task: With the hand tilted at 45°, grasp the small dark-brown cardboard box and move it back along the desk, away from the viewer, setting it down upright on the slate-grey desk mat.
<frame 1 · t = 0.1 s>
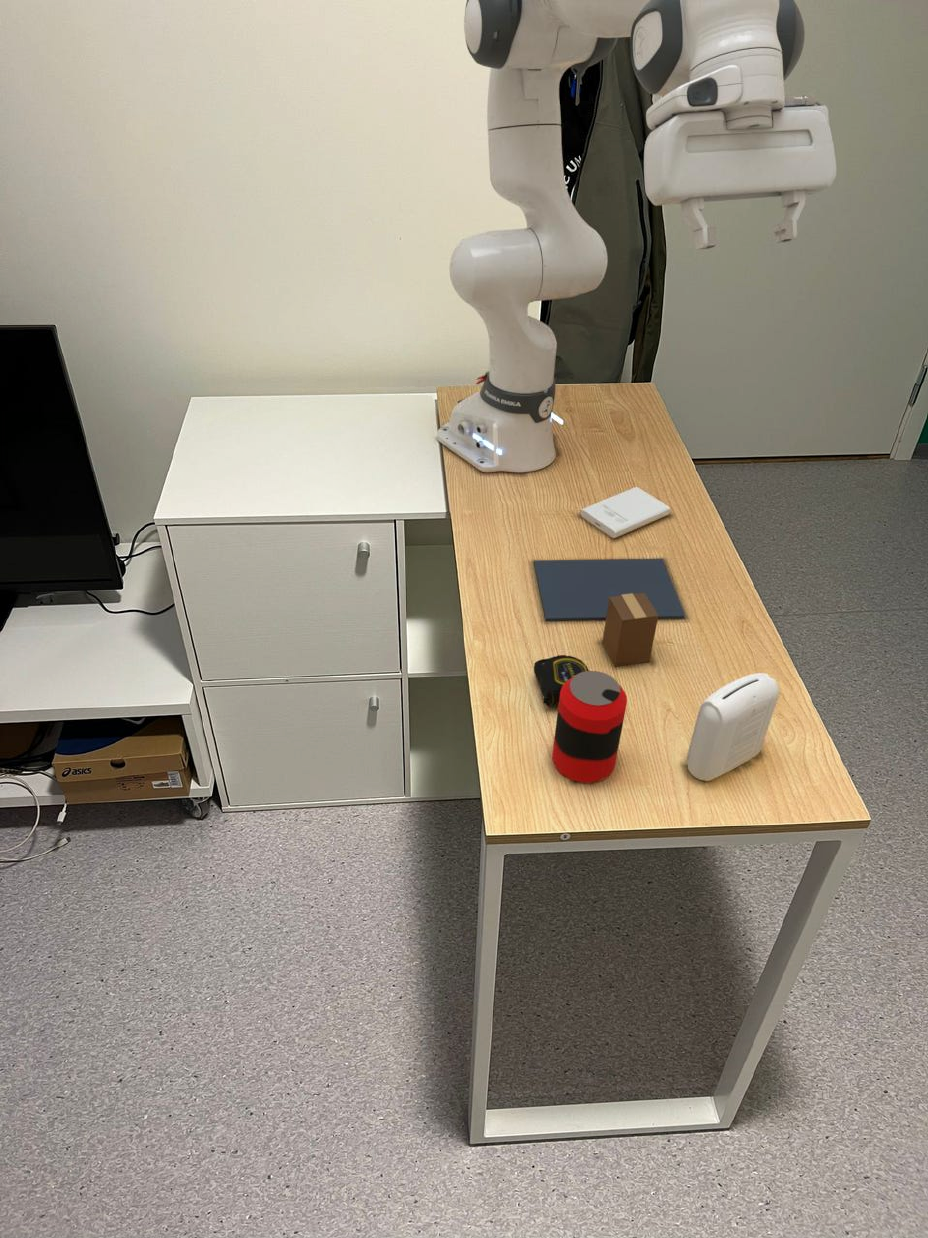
hand: (746, 244, 98), 54 cm above the table, tool tilted 30°, fingers open, 8 cm apart
tape measure: (557, 694, 125), on the table
desk mat: (606, 589, 142), on the table
hard drive: (624, 516, 158), on the table
box: (625, 652, 131), on the table
photo printer: (722, 760, 116), on the table
soda can: (583, 761, 116), on the table
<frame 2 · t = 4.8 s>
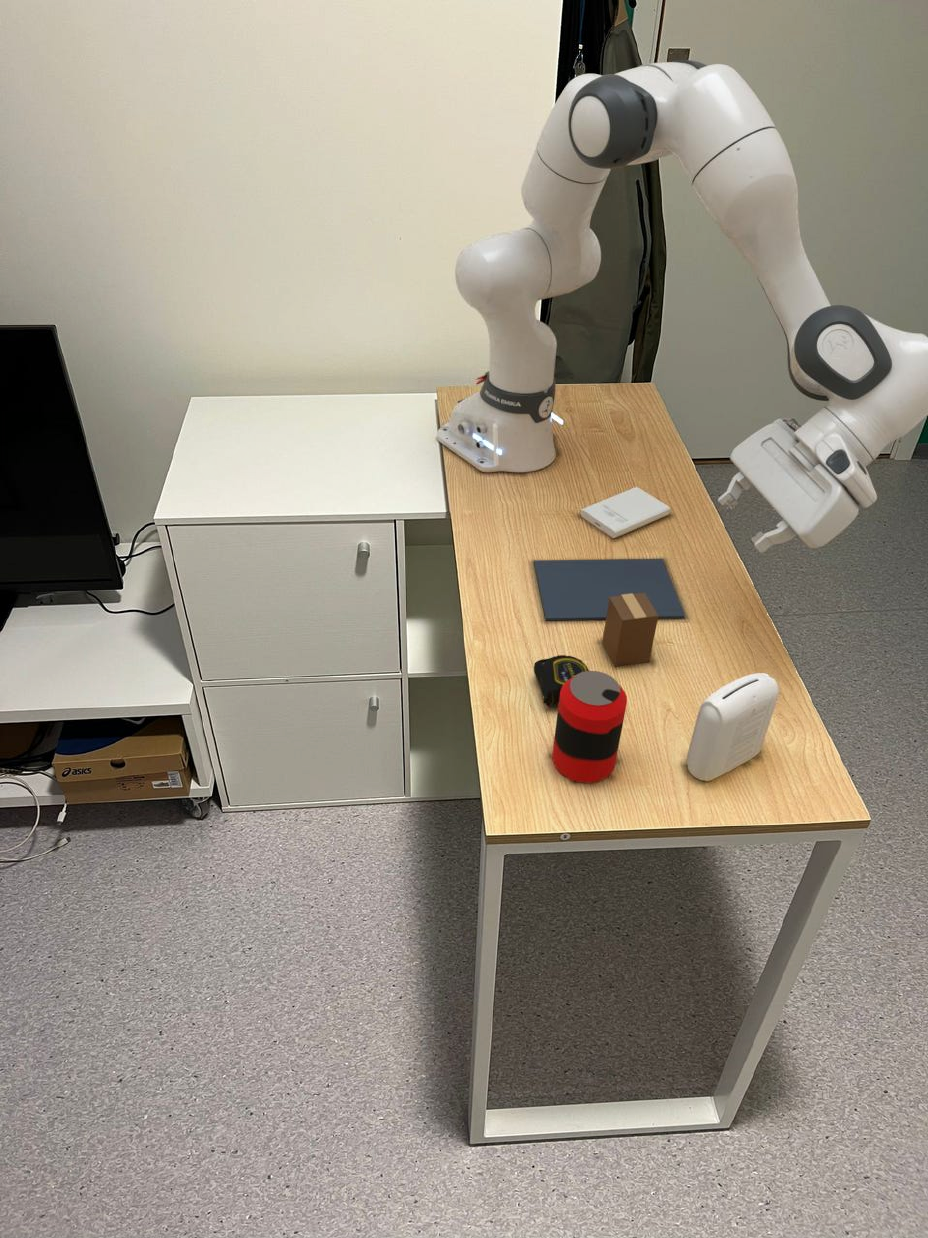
hand: (738, 526, 122), 19 cm above the table, tool tilted 45°, fingers open, 8 cm apart
nothing on the table moved.
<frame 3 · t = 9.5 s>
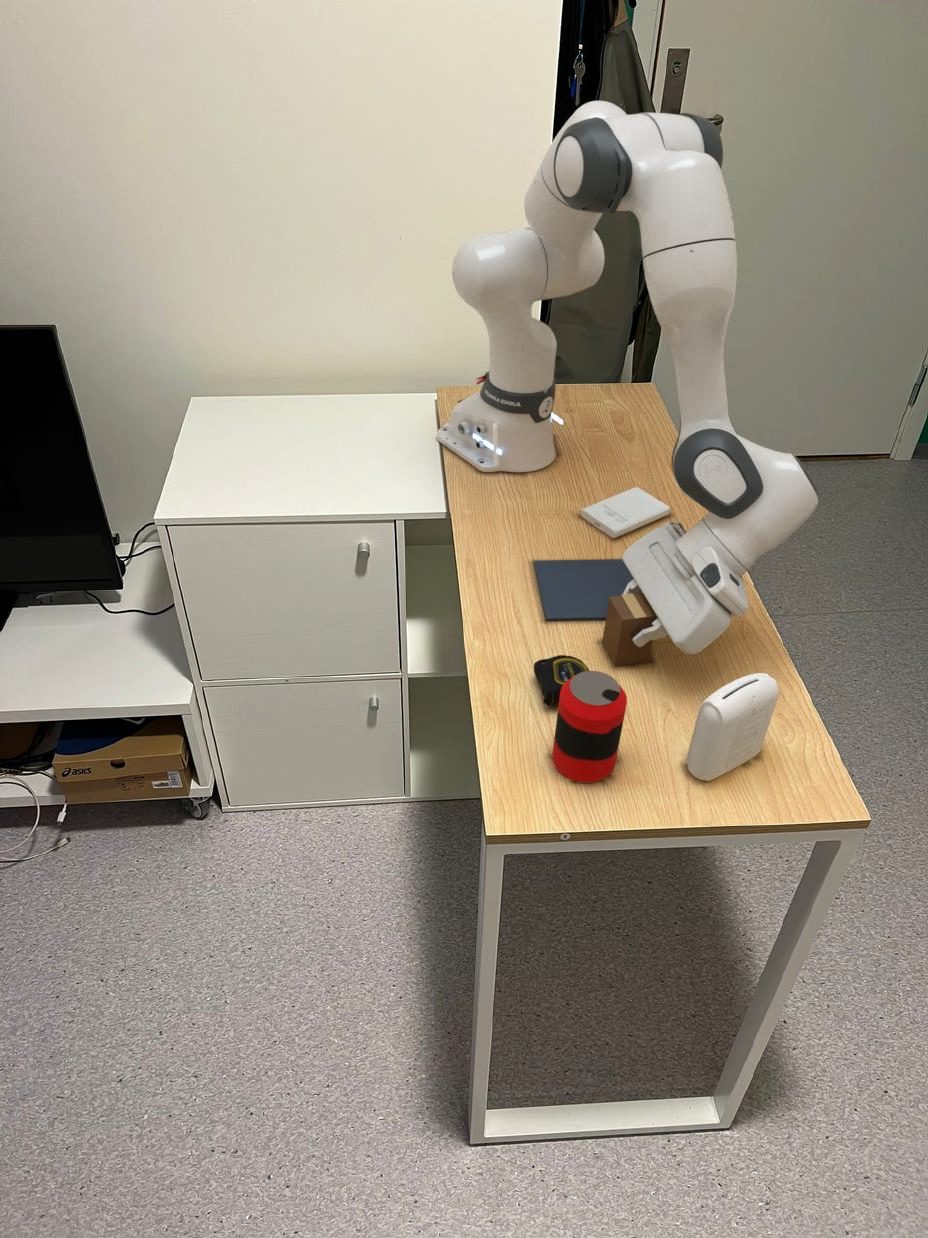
hand: (625, 626, 128), 5 cm above the table, tool tilted 45°, fingers closed on box, 5 cm apart
box: (625, 652, 131), on the table, touching gripper
everything else where it was.
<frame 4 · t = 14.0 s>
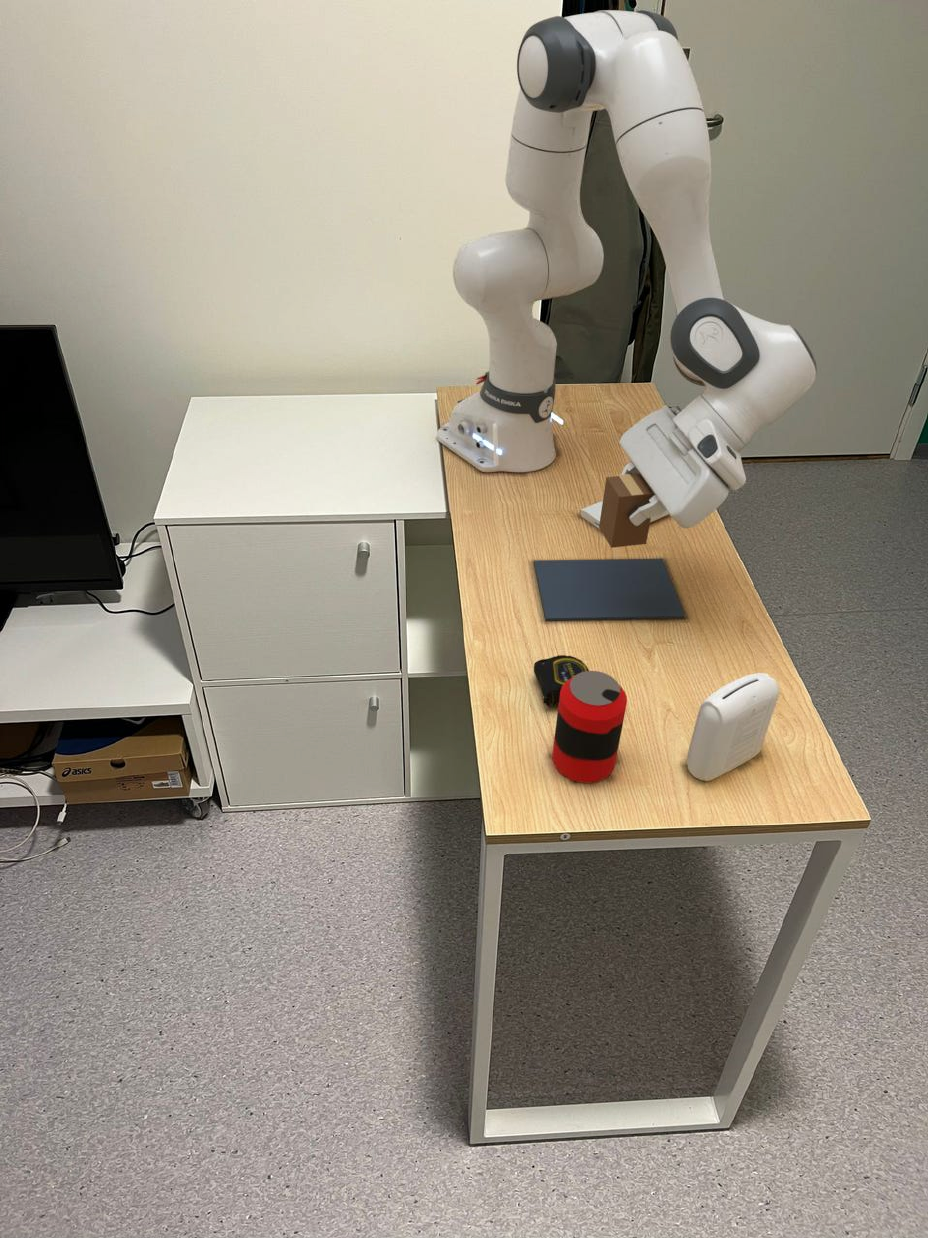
hand: (622, 507, 128), 17 cm above the table, tool tilted 45°, fingers closed on box, 5 cm apart
box: (622, 535, 131), point 12 cm above the table, touching gripper
everything else where it was.
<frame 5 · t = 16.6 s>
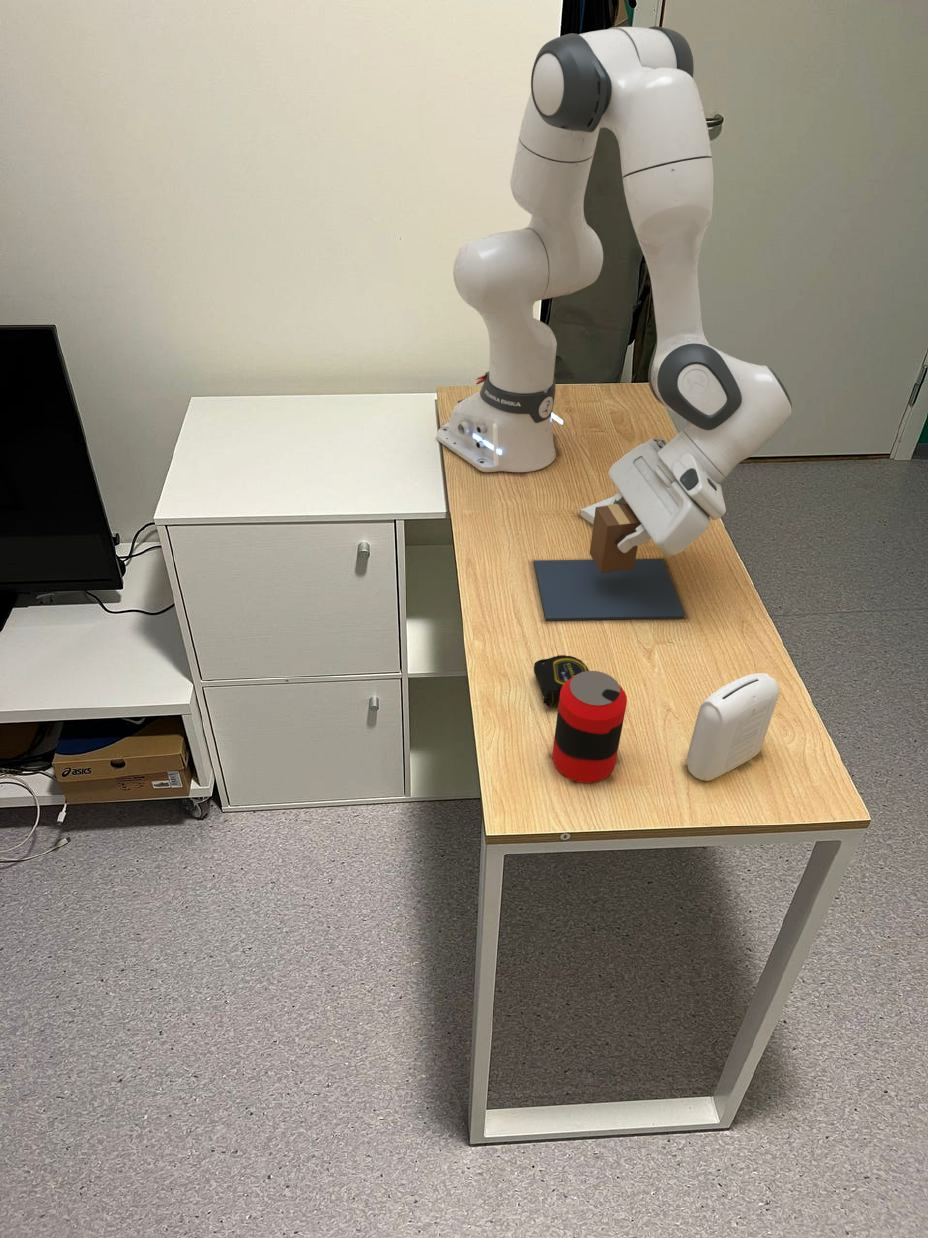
hand: (611, 535, 136), 10 cm above the table, tool tilted 45°, fingers closed on box, 5 cm apart
box: (611, 561, 139), point 5 cm above the table, touching gripper
everything else where it was.
when the fingers open (5 cm above the table, at t = 18.4 s): box stays where it is, resting on desk mat.
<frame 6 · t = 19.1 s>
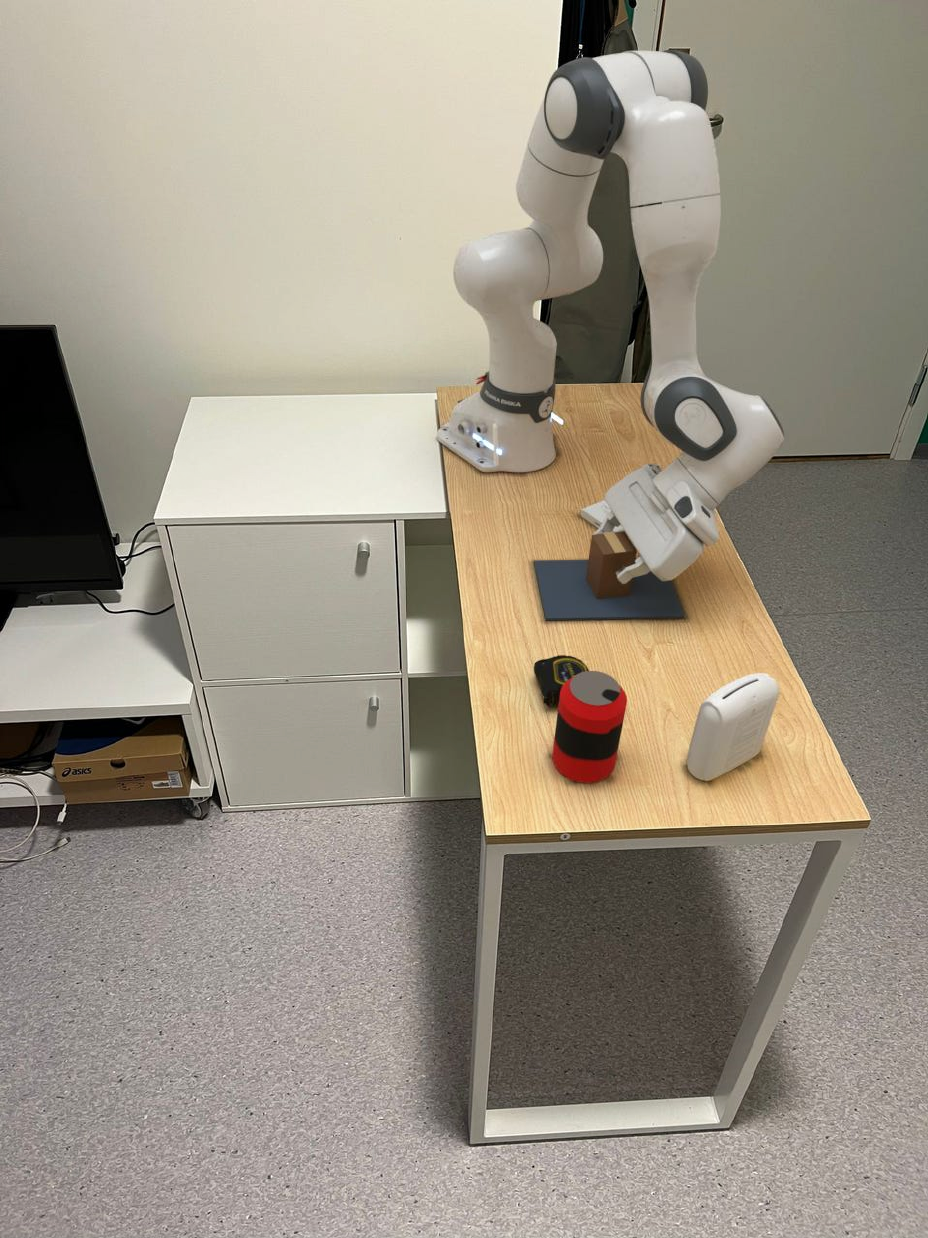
hand: (607, 559, 139), 6 cm above the table, tool tilted 45°, fingers open, 8 cm apart
box: (607, 587, 142), resting on desk mat
everything else where it was.
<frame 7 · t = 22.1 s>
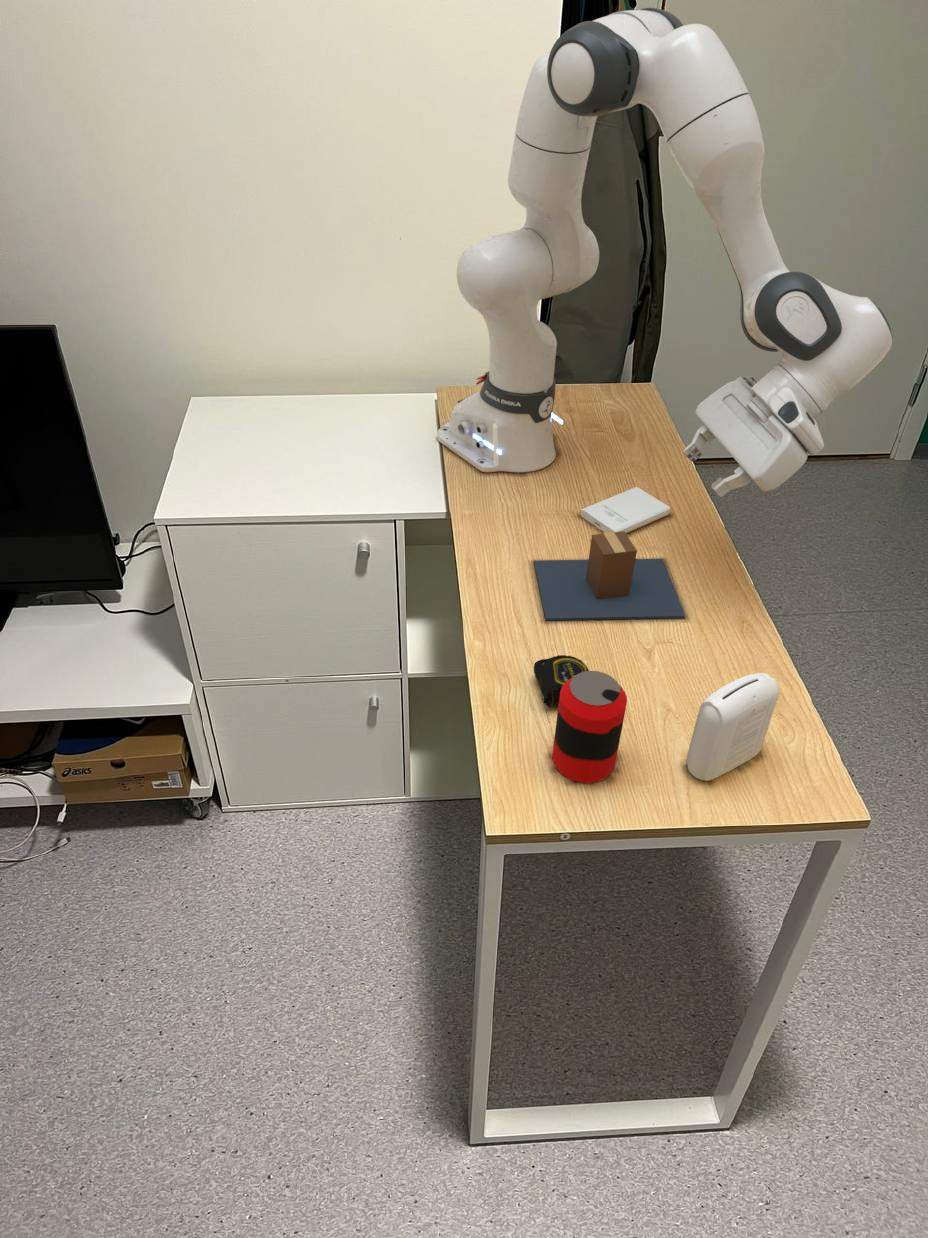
hand: (700, 473, 134), 18 cm above the table, tool tilted 45°, fingers open, 8 cm apart
nothing on the table moved.
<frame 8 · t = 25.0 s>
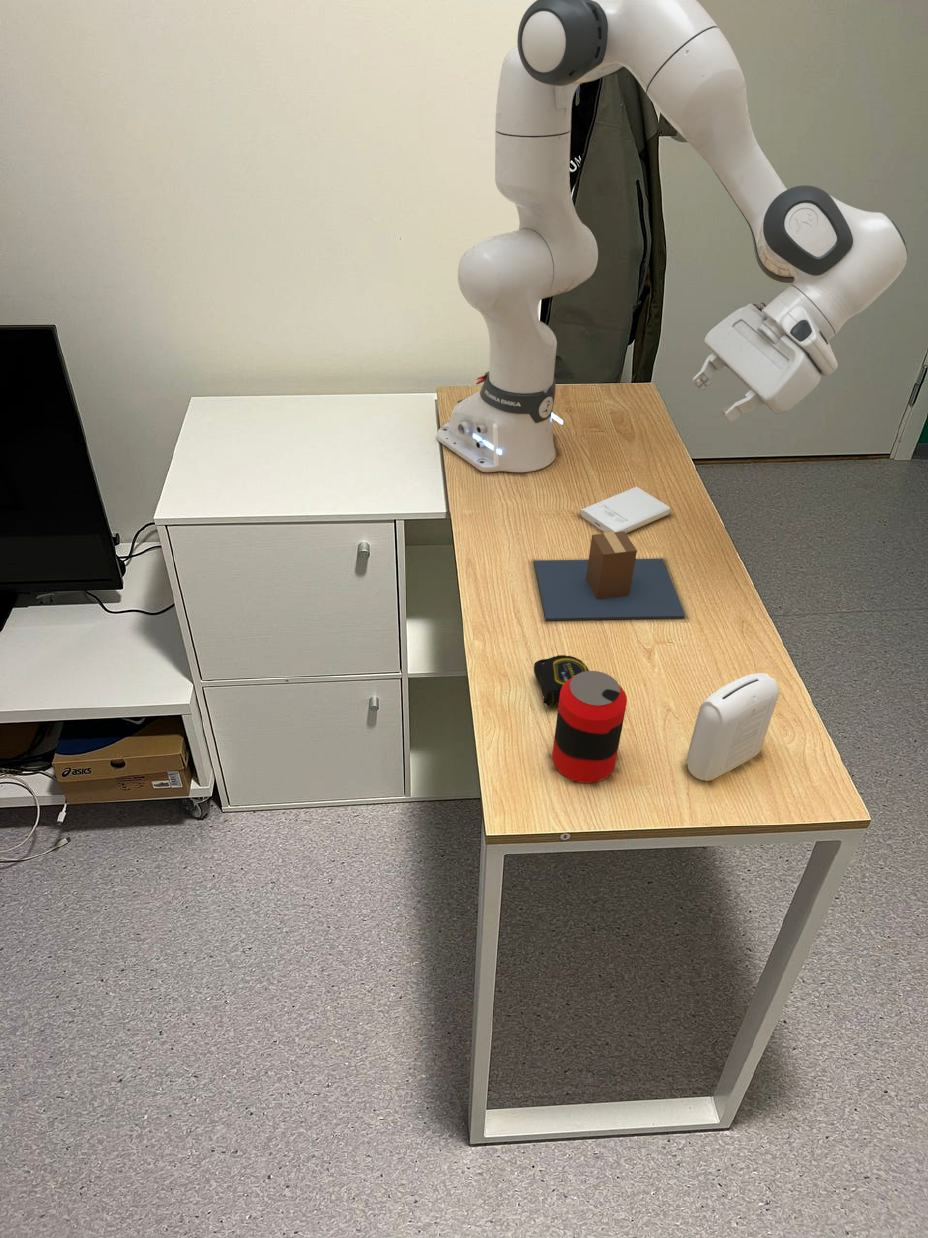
hand: (710, 400, 130), 27 cm above the table, tool tilted 45°, fingers open, 8 cm apart
nothing on the table moved.
at the end: box inside the target area on the desk mat (0.1 cm from its centre), point 0.5 cm above the desk mat's base; box tilted 0°; the gripper is holding nothing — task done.
